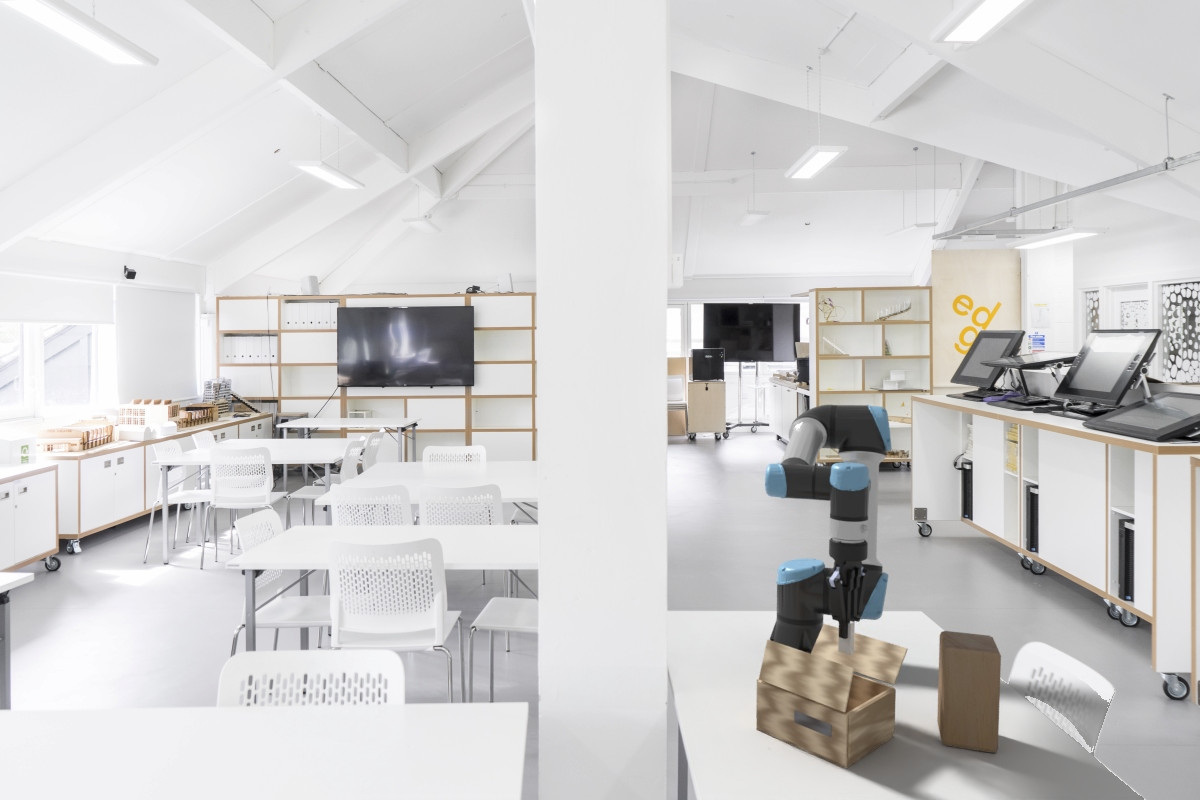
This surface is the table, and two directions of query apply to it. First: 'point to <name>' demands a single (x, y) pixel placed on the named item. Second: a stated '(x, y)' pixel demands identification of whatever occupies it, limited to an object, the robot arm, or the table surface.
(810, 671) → the flap near
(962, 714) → the wooden block
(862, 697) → the carton
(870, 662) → the flap far
